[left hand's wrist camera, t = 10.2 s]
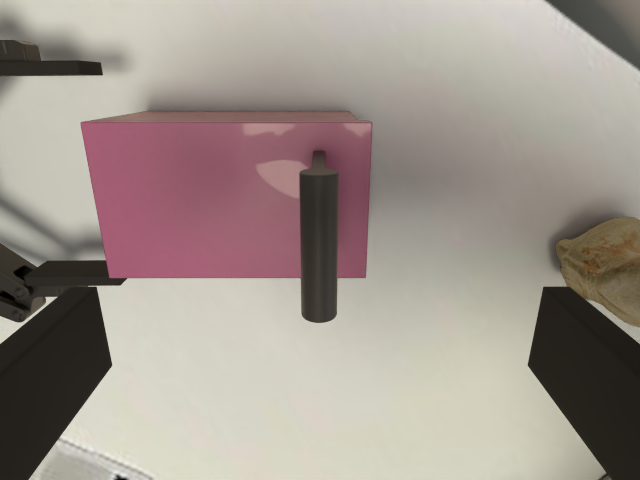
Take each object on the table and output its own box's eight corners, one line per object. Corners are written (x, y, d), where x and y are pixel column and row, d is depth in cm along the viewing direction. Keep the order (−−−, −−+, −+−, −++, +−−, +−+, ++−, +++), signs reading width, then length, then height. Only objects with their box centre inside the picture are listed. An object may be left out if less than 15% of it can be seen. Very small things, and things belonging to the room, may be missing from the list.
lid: (370, 120, 24) (395, 139, 16) (364, 271, 28) (383, 349, 20) (88, 120, 24) (-26, 139, 16) (115, 272, 28) (32, 350, 20)
